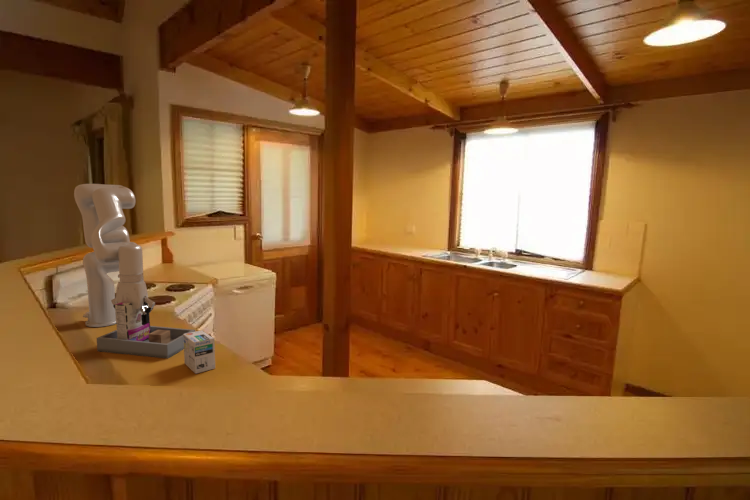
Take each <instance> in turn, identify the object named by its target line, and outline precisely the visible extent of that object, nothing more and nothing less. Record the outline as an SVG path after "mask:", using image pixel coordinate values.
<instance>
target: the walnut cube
mask: <svg viewBox="0 0 750 500" xmlns="http://www.w3.org/2000/svg"><path fill="white" fill-rule="evenodd" d="M149 342H155V343H165V344H167V343H169V342H171V341H170V331H169V330H156V331H154V332H152V333H150V334H149Z"/></svg>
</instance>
